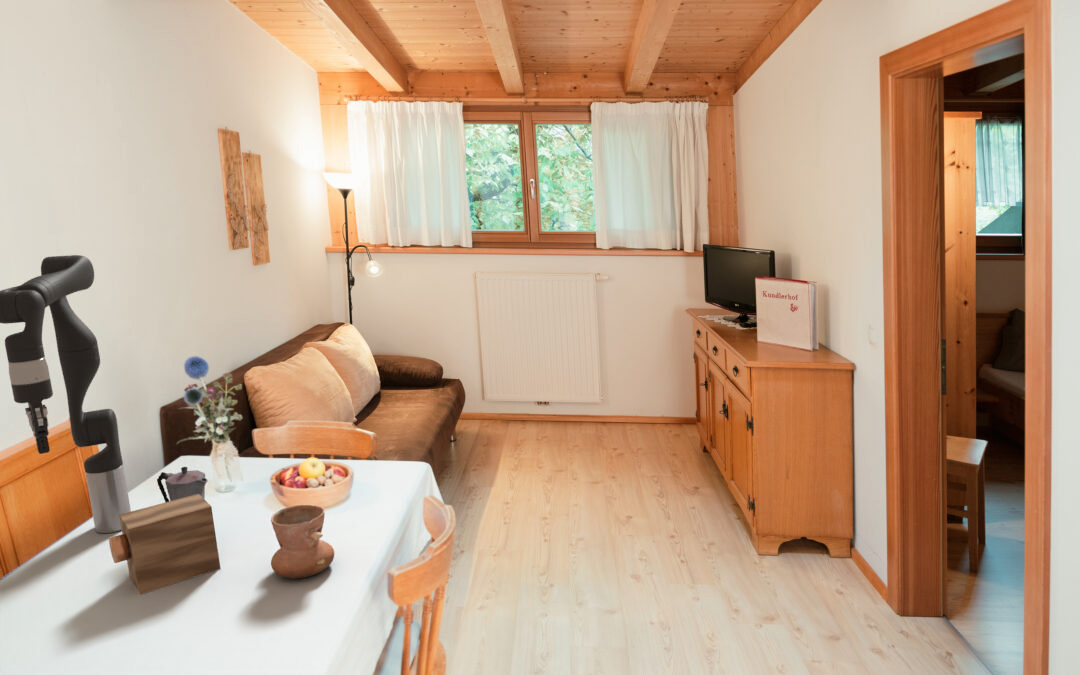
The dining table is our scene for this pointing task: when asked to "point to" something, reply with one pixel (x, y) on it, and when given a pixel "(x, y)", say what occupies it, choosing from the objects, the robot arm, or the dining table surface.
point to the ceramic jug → (300, 542)
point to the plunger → (119, 548)
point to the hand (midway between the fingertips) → (44, 452)
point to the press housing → (170, 542)
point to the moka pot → (182, 484)
